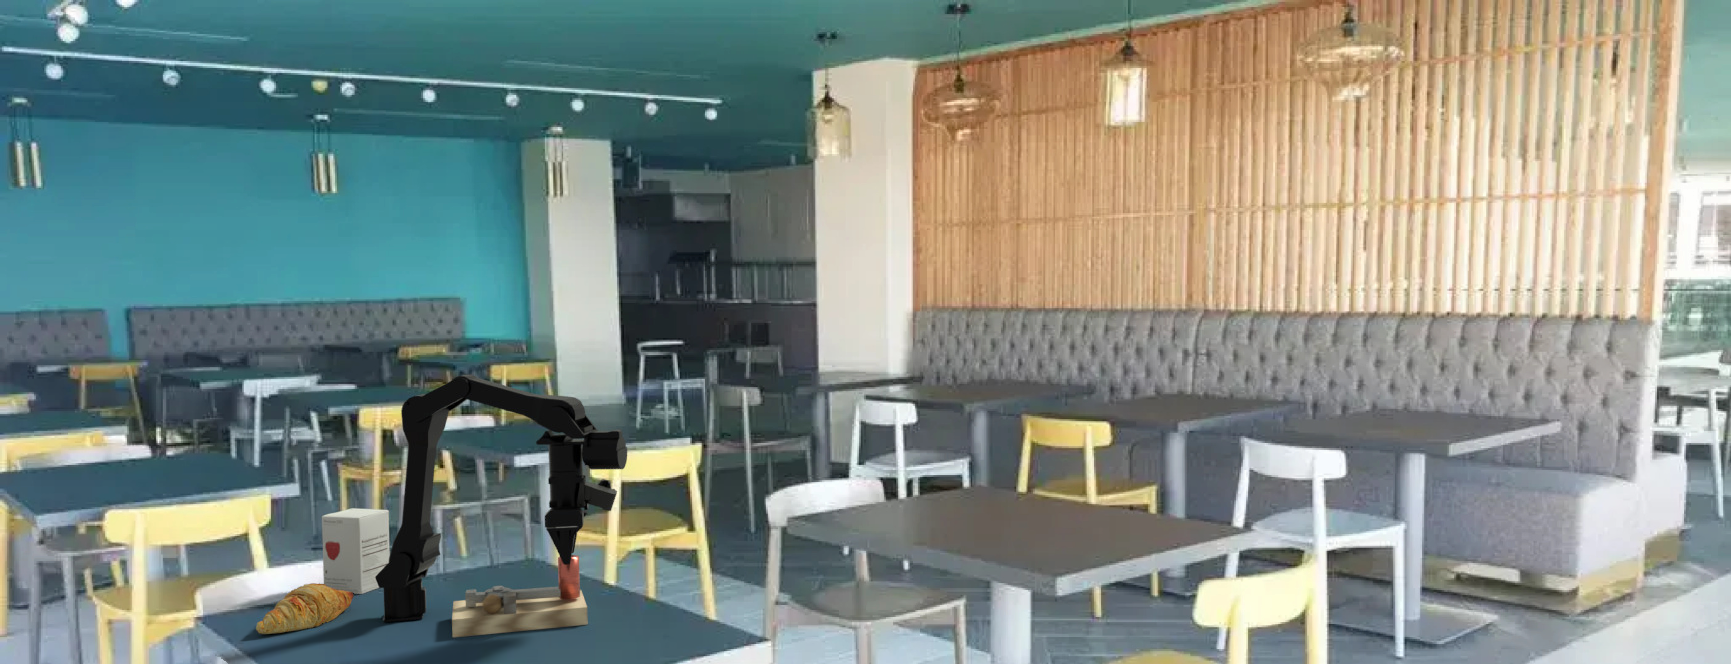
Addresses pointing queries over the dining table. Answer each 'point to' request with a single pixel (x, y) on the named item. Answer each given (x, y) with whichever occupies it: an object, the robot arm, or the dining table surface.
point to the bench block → (518, 615)
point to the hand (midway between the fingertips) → (568, 558)
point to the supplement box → (355, 548)
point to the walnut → (492, 603)
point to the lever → (566, 589)
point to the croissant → (305, 609)
